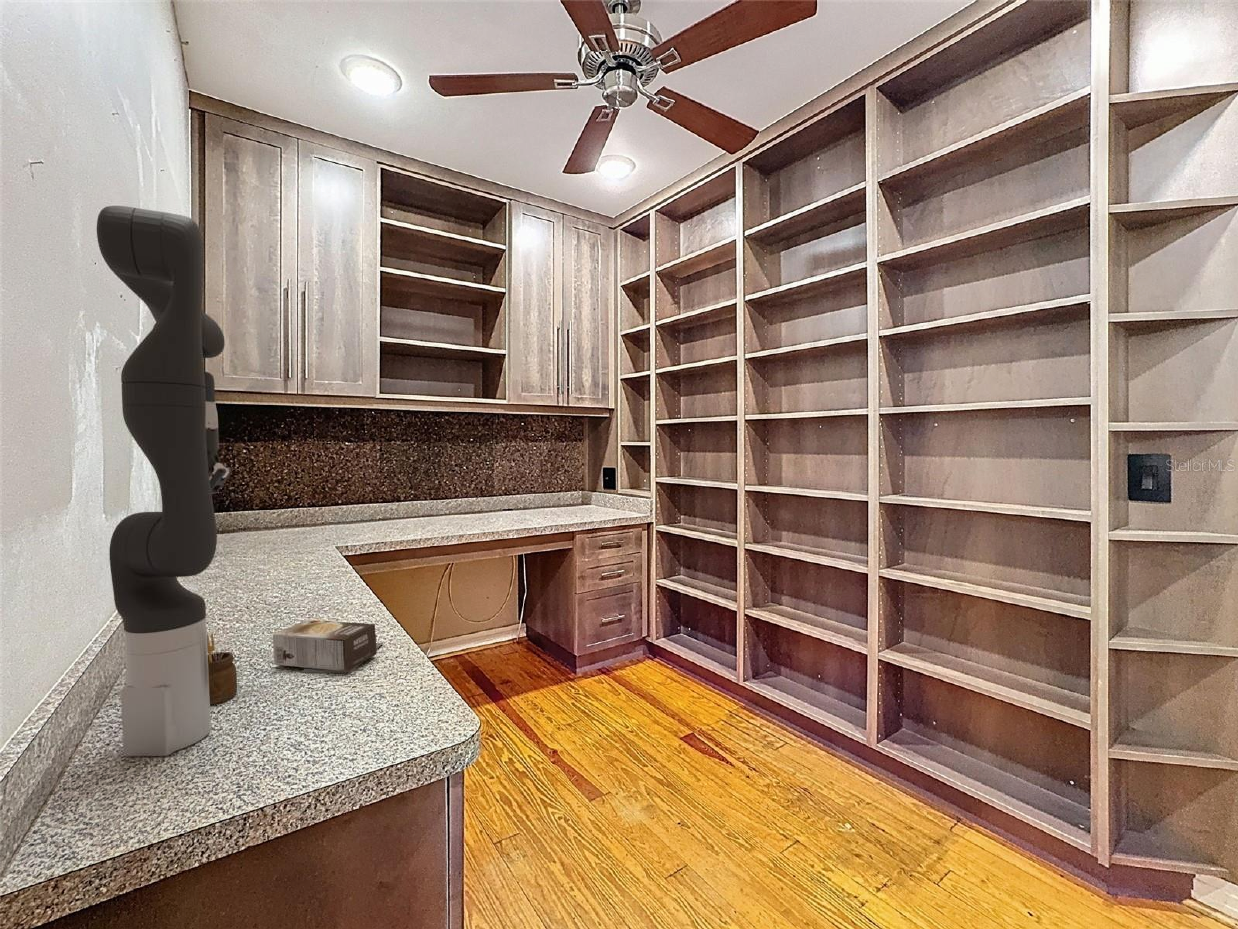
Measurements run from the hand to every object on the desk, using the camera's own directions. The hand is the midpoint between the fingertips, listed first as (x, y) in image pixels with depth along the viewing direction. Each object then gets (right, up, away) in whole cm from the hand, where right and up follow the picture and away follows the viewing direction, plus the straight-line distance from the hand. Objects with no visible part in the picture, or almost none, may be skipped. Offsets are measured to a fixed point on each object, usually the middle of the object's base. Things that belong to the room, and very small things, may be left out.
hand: (198, 517), depth 106 cm
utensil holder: (+12, -30, -12) cm, 34 cm away
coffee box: (+15, -25, +4) cm, 29 cm away
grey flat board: (+26, -29, +5) cm, 39 cm away
